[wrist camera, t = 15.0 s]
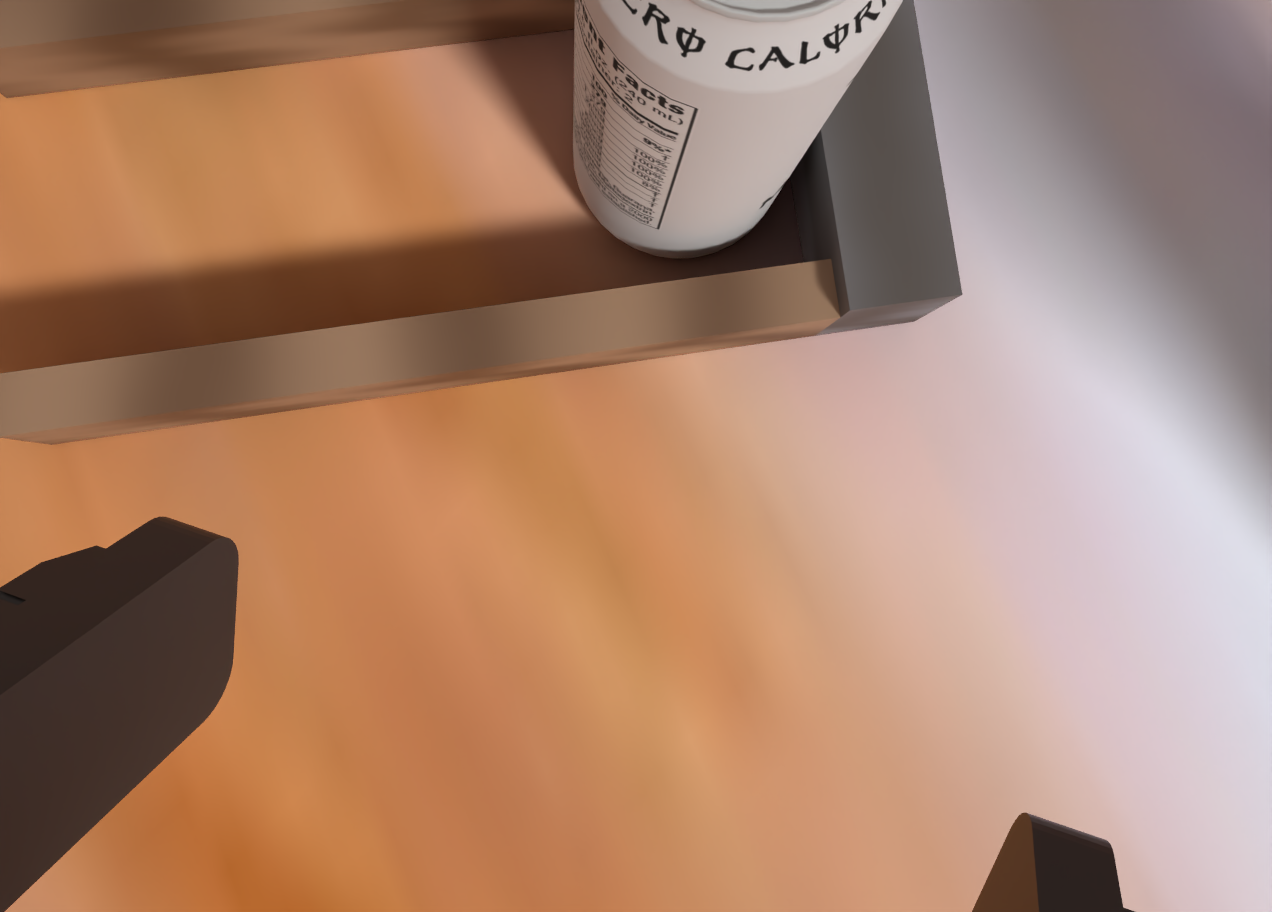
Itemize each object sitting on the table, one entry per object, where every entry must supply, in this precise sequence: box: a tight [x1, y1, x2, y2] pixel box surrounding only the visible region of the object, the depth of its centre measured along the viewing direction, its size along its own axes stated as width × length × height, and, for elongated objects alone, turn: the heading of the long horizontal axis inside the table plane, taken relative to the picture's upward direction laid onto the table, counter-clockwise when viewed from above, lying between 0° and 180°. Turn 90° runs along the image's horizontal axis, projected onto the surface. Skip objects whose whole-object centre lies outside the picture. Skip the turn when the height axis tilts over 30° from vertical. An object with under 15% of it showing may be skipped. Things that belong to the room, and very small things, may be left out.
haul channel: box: [0, 0, 962, 445], centre depth 30 cm, size 25×12×4 cm, turn 99°
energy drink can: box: [573, 0, 903, 258], centre depth 25 cm, size 6×6×15 cm
